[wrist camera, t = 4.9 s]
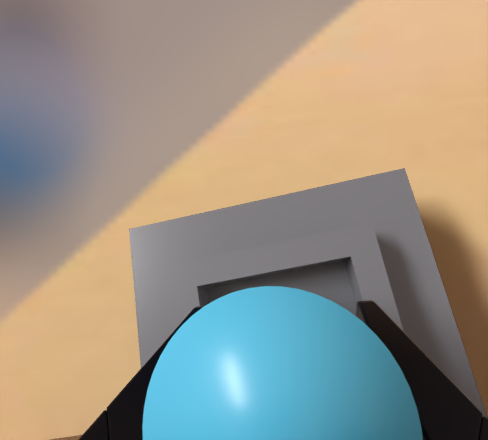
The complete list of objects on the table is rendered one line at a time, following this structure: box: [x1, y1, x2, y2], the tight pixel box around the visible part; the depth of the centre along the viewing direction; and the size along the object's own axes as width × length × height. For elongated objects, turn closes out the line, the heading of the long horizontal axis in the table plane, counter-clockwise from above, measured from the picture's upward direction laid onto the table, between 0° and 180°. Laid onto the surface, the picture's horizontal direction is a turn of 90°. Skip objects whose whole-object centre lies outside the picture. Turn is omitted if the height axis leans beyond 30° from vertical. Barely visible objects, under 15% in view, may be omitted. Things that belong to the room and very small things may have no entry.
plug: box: [142, 286, 423, 440], centre depth 9 cm, size 4×4×8 cm
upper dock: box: [129, 168, 487, 417], centre depth 14 cm, size 12×12×6 cm
